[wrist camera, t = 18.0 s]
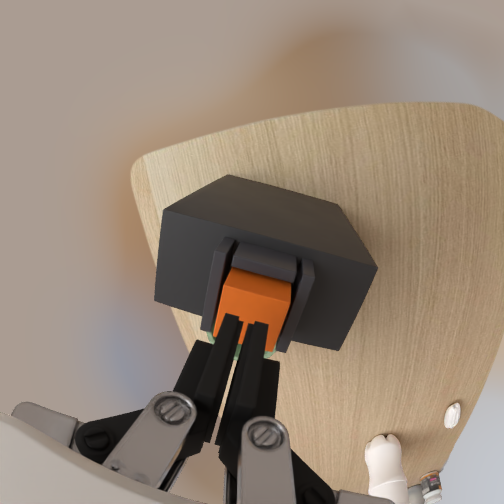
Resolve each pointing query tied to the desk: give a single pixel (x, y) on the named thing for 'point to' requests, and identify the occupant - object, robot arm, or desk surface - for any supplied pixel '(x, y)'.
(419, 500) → the decorative ornament
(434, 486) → the pill bottle
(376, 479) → the water bottle
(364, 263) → the coffee maker
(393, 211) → the desk surface
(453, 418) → the white oval pebble
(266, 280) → the button
